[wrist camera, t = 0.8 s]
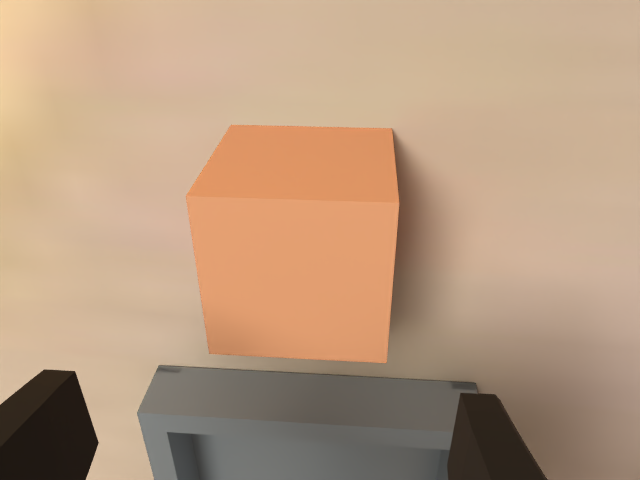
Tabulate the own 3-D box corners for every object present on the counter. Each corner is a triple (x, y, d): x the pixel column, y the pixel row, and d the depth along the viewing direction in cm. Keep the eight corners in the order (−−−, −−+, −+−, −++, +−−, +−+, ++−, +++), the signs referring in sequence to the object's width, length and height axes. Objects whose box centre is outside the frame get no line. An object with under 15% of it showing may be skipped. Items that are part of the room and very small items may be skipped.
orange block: (391, 127, 17) (399, 202, 12) (383, 262, 19) (386, 362, 15) (231, 123, 17) (185, 195, 13) (244, 257, 20) (209, 353, 15)
